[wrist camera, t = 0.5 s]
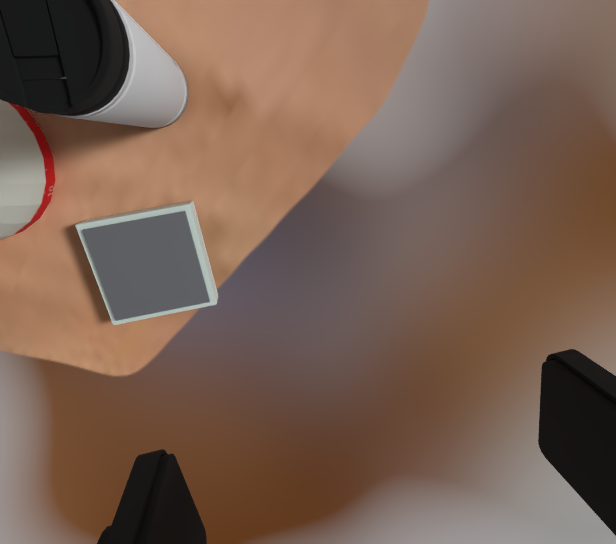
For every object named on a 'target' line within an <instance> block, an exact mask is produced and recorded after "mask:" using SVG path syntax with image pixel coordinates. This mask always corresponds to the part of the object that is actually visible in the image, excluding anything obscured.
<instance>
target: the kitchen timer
mask: <svg viewBox="0 0 616 544" xmlns="http://www.w3.org/2000/svg"><path fill="white" fill-rule="evenodd" d="M54 183H55V174H54V164H53V156H52V154H51V151H50V149H49V146H48V144H47V141H46V139H45V136H44V134H43V132H42V131H41V129H40V128H39V127H38V125H37V124H36V122H35V121H34V120H33V118H32V117H31V116H30V114H29V113H28V111H27V110H25V109H24V108H23V107H22V106H19V105H15V104H12V103H8V102H5V101H2V100H1V99H0V239H3V238H6V237H8V236H11V235H14V234H17V233H19V232H22V231H24V230H25V229H26V228H28V227H29V226H30V225H32V224H33V223H34V222H35V221H37V220H38V219H39V218H40V217H41V215H42V214H43V212H44V211H45V209H46V207H47V206H48V204H49V203H50V201H51V197H52V192H53V188H54Z"/></svg>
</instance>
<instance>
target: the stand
mask: <svg viewBox="0 0 616 544" xmlns="http://www.w3.org/2000/svg"><path fill="white" fill-rule="evenodd" d="M75 226H76V228H77V231H78V233H79V236H80V239H81V241H82V244H83V247H84V249H85V252H86V255H87V257H88V260H89V263H90V265H91V268H92V270H93V273H94V276H95V278H96V281H97V284H98V286H99V289H100V292H101V294H102V297H103V299H104V302H105V305H106V307H107V310H108V313H109V315H110V318H111V321H112V323H113V325H117V324H122V323H127V322H132V321H137V320H142V319H147V318H152V317H157V316H161V315H166V314H171V313H176V312H181V311H186V310H191V309H196V308H201V307H206V306H211V305H216V304H217V299H218V293H217V289H216V285H215V282H214V278H213V274H212V270H211V266H210V263H209V259H208V255H207V251H206V248H205V244H204V240H203V236H202V232H201V229H200V225H199V221H198V217H197V214H196V210H195V206H194V202H193V201H188V202H182V203H177V204H171V205H166V206H160V207H155V208H149V209H144V210H138V211H133V212H127V213H122V214H116V215H111V216H105V217H100V218H94V219H89V220H85V221H82V222H80V223H78V224H76V225H75Z"/></svg>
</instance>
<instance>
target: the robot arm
mask: <svg viewBox="0 0 616 544" xmlns="http://www.w3.org/2000/svg"><path fill="white" fill-rule="evenodd" d="M538 442H539V447H540V449H541V452H542V453H543V455H544V456H545V458H546V459H547V460H548V461H549V462H550V463H551V464H552V465H553V466H554V468H555V469H556V470H557V471H558V472H559V473H560V474H561V475H562V477H563V478H564V479H565V480H566V481H567V482H568V483H569V484H570V485H571V486H572V487H573V489H574V490H575V491H576V492H577V493H578V494H579V495H580V496H581V498H582V499H583V500H584V501H585V502H586V503H587V504H588V505H589V506H590V508H591V509H592V510H593V511H594V512H595V513H596V514H597V515H598V516H599V517H600V518H601V520H602V521H603V522H604V523H605V524H606V525H607V526H608V528H609V529H610V530H611V531H612V532H613V533H614V534H615V535H616V376H614V375H613V374H612V373H610V372H608V371H607V370H605V369H604V368H603V367H601V366H600V365H598V364H596V363H595V362H593V361H592V360H591V359H589V358H588V357H586V356H585V355H583V354H582V353H580V352H579V351H576V350H573V349H570V350H566V351H562V352H558V353H554V354H550V355H548V357H547V359H546V362H544V363H543V364H542V375H541V396H540V418H539V440H538ZM97 544H207V543H206V532H205V528H204V526H203V523H202V521H201V518H200V516H199V513H198V511H197V509H196V506H195V504H194V501H193V499H192V496H191V494H190V491H189V489H188V487H187V484H186V482H185V479H184V477H183V475H182V472H181V469H180V467H179V465H178V463H177V460H176V457H175V456H174V454H169V455H168V454H167V453H166V451H165V450H158V451H154V452H150V453H146V454H142V455H139V456H138V457H137V458H136V460H135V462H134V465H133V468H132V470H131V473H130V476H129V479H128V481H127V484H126V487H125V490H124V493H123V495H122V498H121V501H120V504H119V506H118V509H117V512H116V515H115V517H114V520H113V523H112V525H111V526H108V527H107V528H106V529H105V530H104V531H103V532H102V534H101V537H100V539H99V540H98V543H97Z"/></svg>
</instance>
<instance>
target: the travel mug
mask: <svg viewBox="0 0 616 544" xmlns="http://www.w3.org/2000/svg"><path fill="white" fill-rule="evenodd" d="M0 99H1V100H2V101H5V102H8V103H12V104H15V105H19V106H22V107H25V108H29V109H32V110H34V111H37V112H41V113H48V114H53V115H57V116H61V117H69V118H77V119H85V120H92V121H100V122H108V123H116V124H124V125H132V126H140V127H147V128H162V127H166V126H168V125H171V124H172V123H174V122H175V121H177V120H178V119H179V118H180V117H181V115H182V114H183V112H184V111H185V108H186V105H187V102H188V85H187V81H186V78H185V76H184V73H183V72H182V70H181V68H180V67H179V65H178V64H177V63H176V62H175V61H174V60H173V59H172V58H171V57H170V56H169V55H168V54H167V53H166V52H165V51H164V50H163V49H162V48H161V47H160V46H159V45H158V44H157V43H156V42H155V41H154V40H153V39H152V38H151V37H150V36H149V35H148V34H147V33H146V32H145V31H144V30H143V29H142V27H141V26H140V25H139V24H138V23H137V22H136V21H135V20H134V19H133V18H132V17H131V16H130V15H129V14H128V13H127V12H126V11H125V10H124V9H123V8H122V7H121V6H120V5H119V4H118V3H117V2H116V1H115V0H0Z"/></svg>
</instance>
